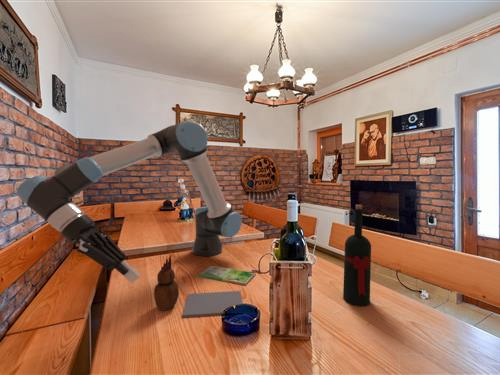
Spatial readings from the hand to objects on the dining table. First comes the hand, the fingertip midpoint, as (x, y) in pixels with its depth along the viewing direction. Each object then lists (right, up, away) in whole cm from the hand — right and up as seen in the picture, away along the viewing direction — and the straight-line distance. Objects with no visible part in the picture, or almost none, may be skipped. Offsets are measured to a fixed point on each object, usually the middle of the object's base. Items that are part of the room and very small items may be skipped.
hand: (136, 279), depth 70 cm
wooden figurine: (+8, -9, +2) cm, 12 cm away
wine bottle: (+66, -9, +5) cm, 67 cm away
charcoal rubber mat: (+22, -9, +3) cm, 24 cm away
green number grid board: (+24, -8, +24) cm, 35 cm away
